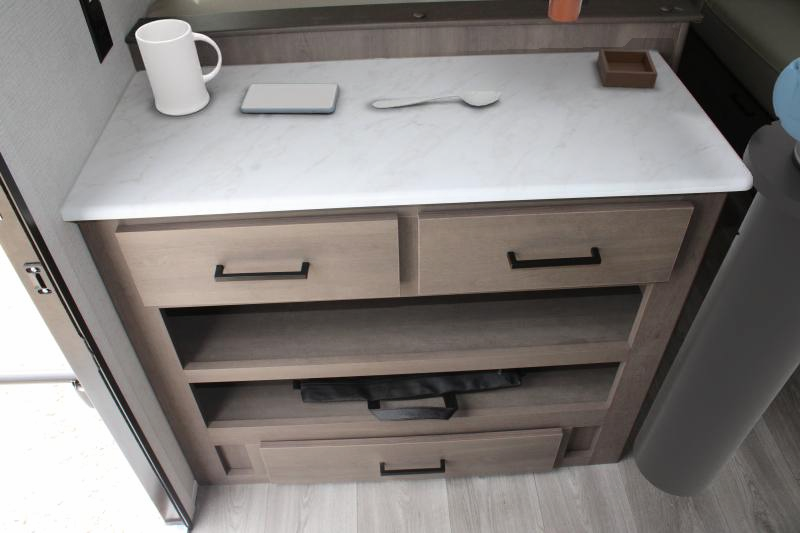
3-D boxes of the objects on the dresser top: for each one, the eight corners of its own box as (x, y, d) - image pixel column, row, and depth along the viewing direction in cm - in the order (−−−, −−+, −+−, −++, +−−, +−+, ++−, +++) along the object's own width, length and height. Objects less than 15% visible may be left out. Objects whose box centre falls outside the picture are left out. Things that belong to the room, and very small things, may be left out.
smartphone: (249, 82, 105) (339, 82, 104) (251, 88, 106) (340, 87, 105) (238, 109, 99) (333, 109, 98) (240, 114, 100) (334, 114, 99)
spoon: (502, 109, 100) (503, 99, 99) (372, 112, 100) (371, 103, 99) (498, 95, 103) (499, 86, 102) (372, 98, 103) (371, 89, 102)
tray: (644, 64, 110) (648, 50, 108) (653, 88, 104) (657, 73, 103) (596, 63, 111) (599, 49, 109) (603, 86, 105) (606, 72, 103)
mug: (227, 83, 107) (212, 12, 98) (232, 108, 101) (216, 36, 93) (155, 93, 105) (133, 22, 96) (156, 119, 99) (132, 46, 90)
